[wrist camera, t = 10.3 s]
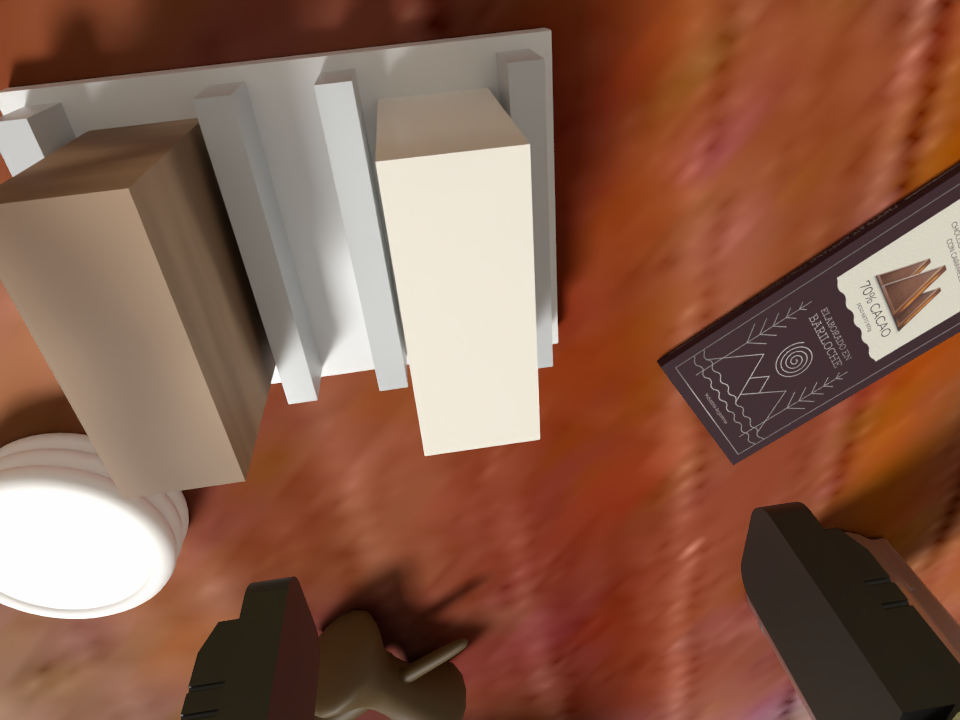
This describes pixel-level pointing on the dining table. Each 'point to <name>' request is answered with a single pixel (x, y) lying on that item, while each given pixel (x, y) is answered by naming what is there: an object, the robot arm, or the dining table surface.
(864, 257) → the chocolate bar
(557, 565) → the dining table surface
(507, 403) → the cream rectangular block
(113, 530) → the white round tin
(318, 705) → the kendama
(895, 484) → the dining table surface
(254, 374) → the brown rectangular block
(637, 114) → the dining table surface
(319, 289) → the dish rack
